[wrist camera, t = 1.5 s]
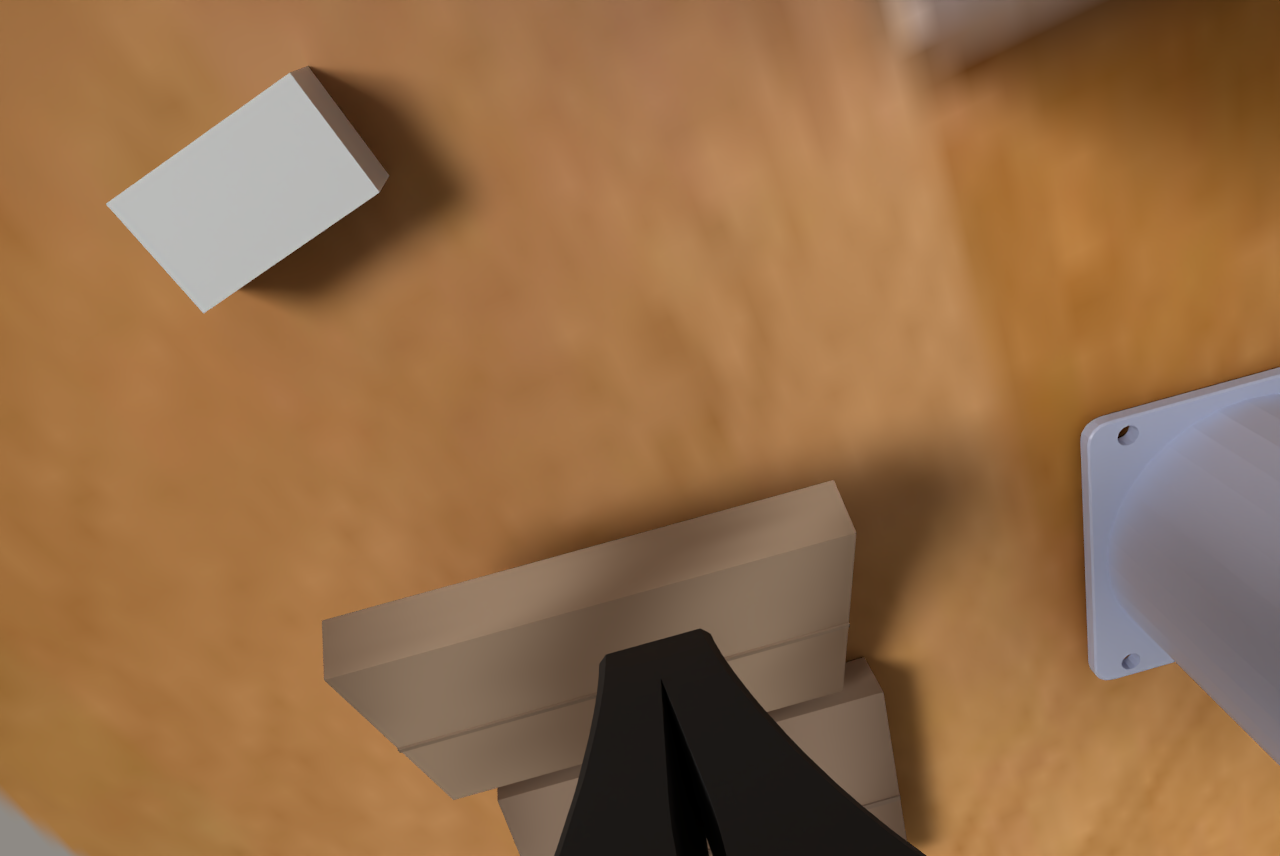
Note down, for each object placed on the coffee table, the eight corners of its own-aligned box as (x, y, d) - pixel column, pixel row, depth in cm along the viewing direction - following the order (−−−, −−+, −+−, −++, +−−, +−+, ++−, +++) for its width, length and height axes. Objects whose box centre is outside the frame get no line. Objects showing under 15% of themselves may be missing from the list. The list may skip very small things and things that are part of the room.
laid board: (864, 657, 26) (884, 693, 24) (893, 835, 29) (912, 876, 27) (497, 760, 25) (497, 801, 24) (565, 929, 28) (568, 974, 27)
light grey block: (310, 65, 18) (289, 72, 16) (390, 173, 19) (379, 192, 17) (143, 183, 19) (105, 203, 17) (230, 284, 20) (203, 313, 18)
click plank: (833, 480, 18) (857, 534, 18) (826, 646, 25) (843, 692, 24) (322, 620, 18) (324, 682, 17) (448, 752, 25) (453, 802, 24)
